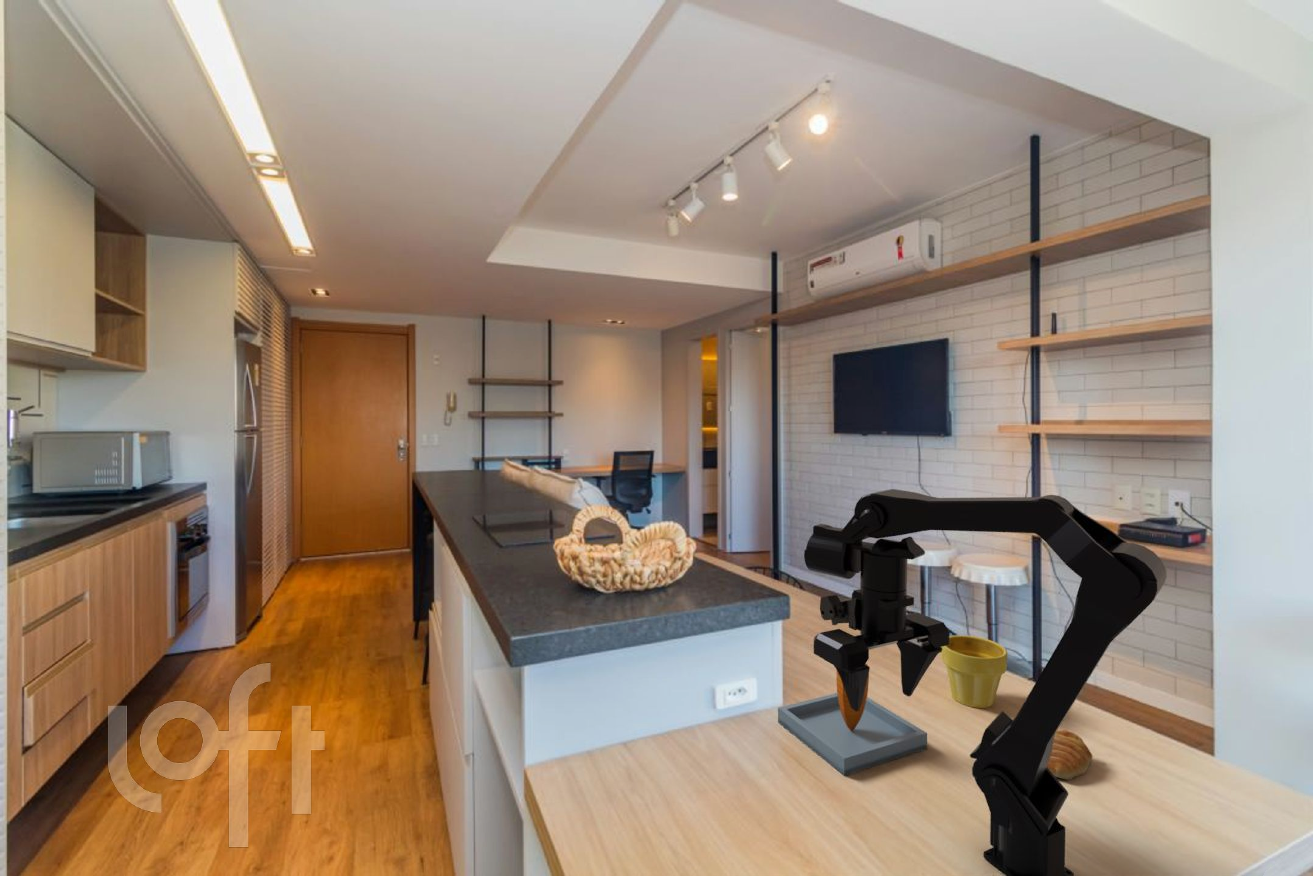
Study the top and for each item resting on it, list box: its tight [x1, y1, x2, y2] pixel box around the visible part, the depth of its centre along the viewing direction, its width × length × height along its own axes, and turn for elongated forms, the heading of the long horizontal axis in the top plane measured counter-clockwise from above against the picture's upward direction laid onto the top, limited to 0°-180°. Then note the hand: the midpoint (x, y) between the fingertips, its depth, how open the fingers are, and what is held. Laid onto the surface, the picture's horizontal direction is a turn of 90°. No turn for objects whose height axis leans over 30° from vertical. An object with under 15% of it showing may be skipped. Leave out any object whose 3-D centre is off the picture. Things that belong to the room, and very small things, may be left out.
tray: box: [777, 692, 928, 777], centre depth 95 cm, size 16×16×2 cm
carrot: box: [836, 662, 870, 731], centre depth 94 cm, size 5×5×15 cm
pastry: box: [1047, 729, 1094, 781], centre depth 86 cm, size 9×7×4 cm
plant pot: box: [940, 634, 1008, 709], centre depth 106 cm, size 10×10×10 cm
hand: (881, 702), depth 79 cm, fingers open, 9 cm apart
